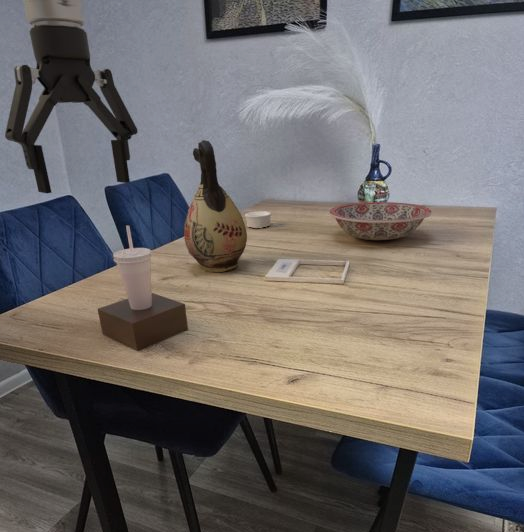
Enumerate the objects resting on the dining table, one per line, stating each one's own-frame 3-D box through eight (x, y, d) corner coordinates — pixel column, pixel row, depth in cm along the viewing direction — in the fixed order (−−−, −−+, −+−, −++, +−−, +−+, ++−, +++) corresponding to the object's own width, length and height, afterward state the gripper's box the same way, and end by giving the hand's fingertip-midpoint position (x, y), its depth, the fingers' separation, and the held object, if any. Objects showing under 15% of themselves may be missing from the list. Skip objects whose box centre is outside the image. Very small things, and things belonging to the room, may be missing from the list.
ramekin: (245, 229, 158) (244, 216, 156) (246, 224, 166) (245, 211, 164) (271, 228, 158) (271, 215, 156) (271, 223, 166) (270, 210, 164)
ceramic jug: (184, 262, 125) (170, 139, 112) (241, 256, 128) (234, 136, 115) (192, 281, 111) (177, 142, 97) (256, 274, 114) (249, 138, 100)
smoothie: (157, 297, 87) (145, 220, 81) (161, 309, 82) (149, 228, 75) (121, 302, 85) (107, 224, 79) (123, 315, 80) (108, 232, 74)
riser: (102, 334, 86) (97, 308, 83) (152, 315, 93) (148, 291, 90) (137, 350, 79) (132, 323, 77) (188, 329, 86) (185, 303, 84)
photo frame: (278, 258, 121) (349, 260, 117) (279, 262, 121) (349, 264, 117) (264, 275, 108) (343, 278, 104) (265, 280, 109) (343, 283, 105)
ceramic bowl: (335, 226, 157) (336, 201, 153) (427, 228, 150) (430, 202, 146) (321, 248, 132) (321, 220, 129) (430, 252, 125) (434, 221, 121)
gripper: (-30, 12, 55) (17, 199, 65) (147, 32, 72) (164, 179, 81) (-51, 21, 60) (-5, 195, 69) (120, 38, 76) (139, 177, 86)
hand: (86, 187), depth 75 cm, fingers open, 13 cm apart
